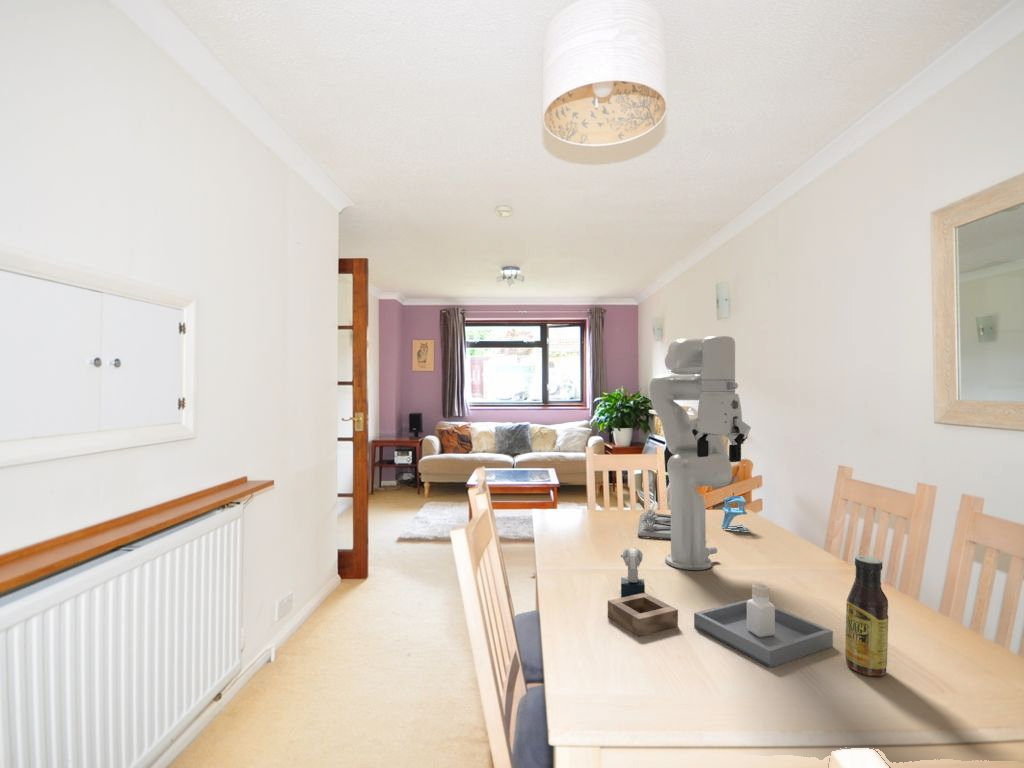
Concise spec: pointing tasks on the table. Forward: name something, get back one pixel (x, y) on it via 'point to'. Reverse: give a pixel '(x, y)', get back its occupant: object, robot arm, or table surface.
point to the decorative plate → (654, 525)
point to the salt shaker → (760, 612)
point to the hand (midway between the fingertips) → (718, 459)
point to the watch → (632, 573)
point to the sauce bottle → (867, 620)
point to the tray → (782, 647)
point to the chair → (733, 512)
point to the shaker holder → (642, 614)
